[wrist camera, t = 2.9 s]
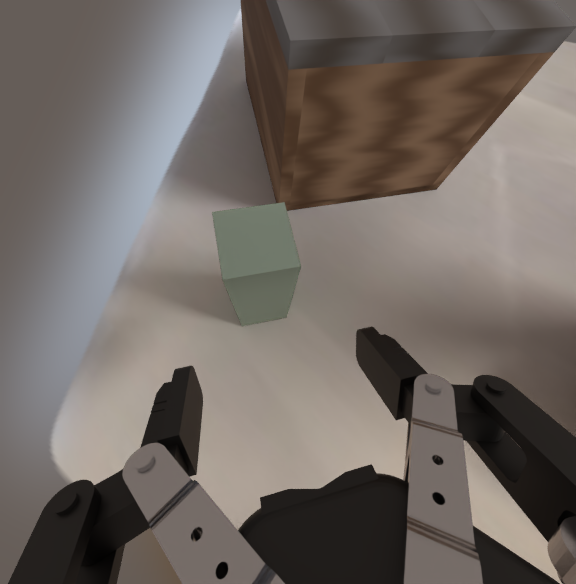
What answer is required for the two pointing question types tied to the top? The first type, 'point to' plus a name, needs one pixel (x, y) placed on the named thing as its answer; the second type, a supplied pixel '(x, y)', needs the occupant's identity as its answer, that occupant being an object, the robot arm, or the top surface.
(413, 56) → the box
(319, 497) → the robot arm
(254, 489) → the top surface
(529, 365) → the top surface
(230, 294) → the sage peg
